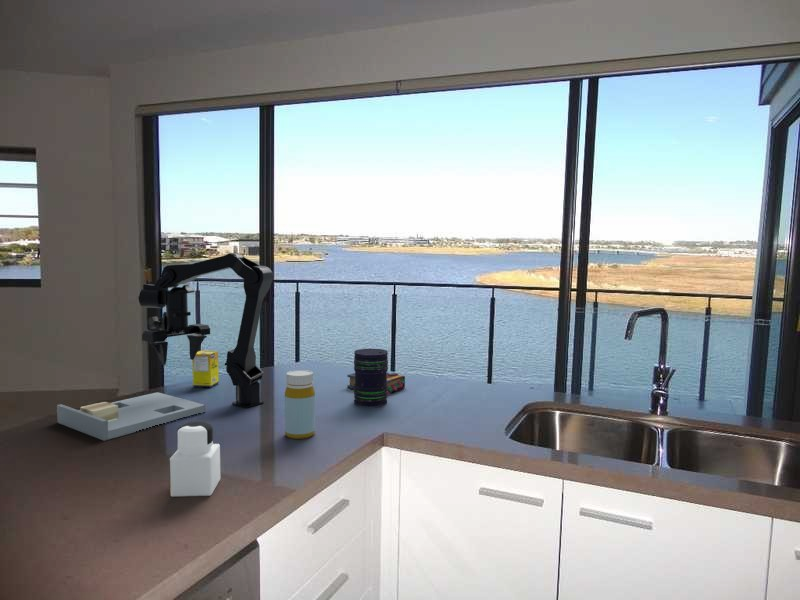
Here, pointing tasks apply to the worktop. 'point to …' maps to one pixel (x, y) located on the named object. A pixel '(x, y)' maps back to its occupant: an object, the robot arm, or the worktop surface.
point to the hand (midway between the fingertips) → (178, 362)
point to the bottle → (299, 404)
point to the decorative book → (393, 382)
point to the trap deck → (130, 415)
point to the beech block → (102, 410)
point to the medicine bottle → (195, 461)
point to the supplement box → (205, 369)
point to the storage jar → (370, 377)
